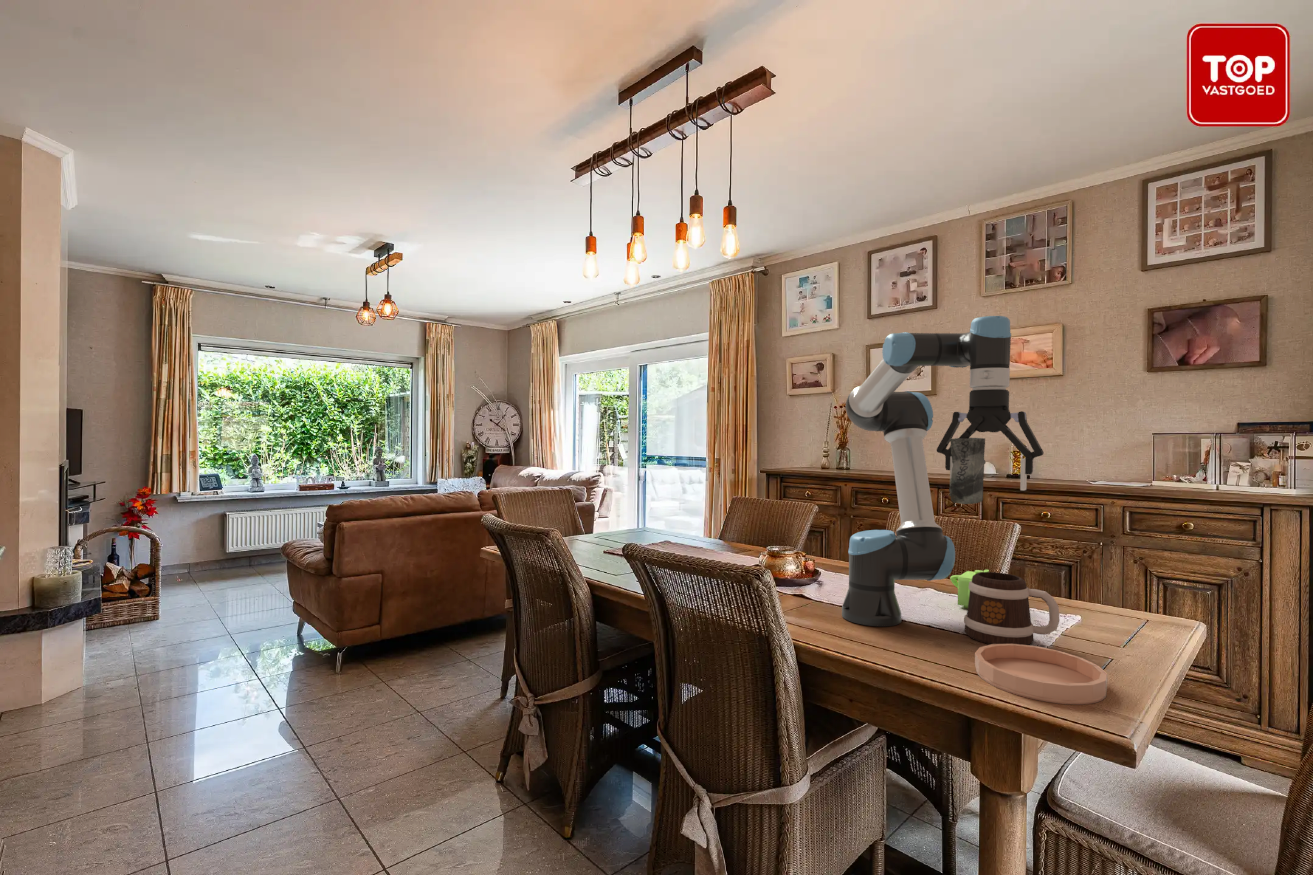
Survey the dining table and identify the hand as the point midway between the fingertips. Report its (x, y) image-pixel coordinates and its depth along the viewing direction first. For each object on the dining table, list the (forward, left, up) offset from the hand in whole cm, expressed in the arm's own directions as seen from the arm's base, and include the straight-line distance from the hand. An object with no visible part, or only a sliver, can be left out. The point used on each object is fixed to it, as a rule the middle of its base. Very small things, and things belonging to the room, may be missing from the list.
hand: (987, 487), depth 131 cm
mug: (+1, +20, -38) cm, 43 cm away
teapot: (-11, +46, -38) cm, 61 cm away
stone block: (-6, -1, -4) cm, 7 cm away
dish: (+10, -4, -38) cm, 39 cm away
